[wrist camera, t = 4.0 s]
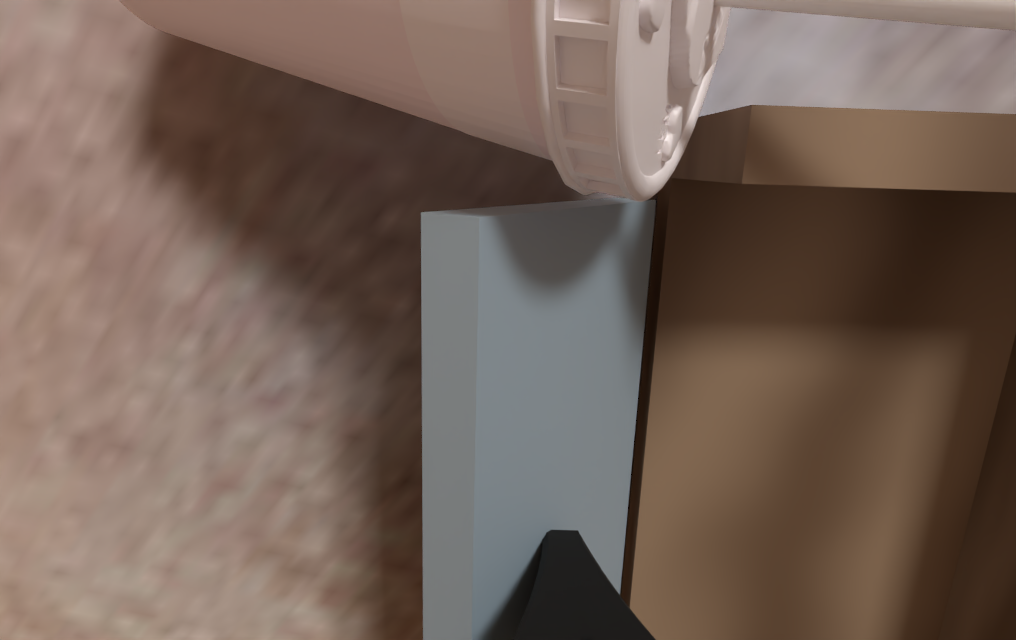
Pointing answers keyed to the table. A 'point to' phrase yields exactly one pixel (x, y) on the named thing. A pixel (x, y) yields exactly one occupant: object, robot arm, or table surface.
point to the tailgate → (526, 397)
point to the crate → (830, 381)
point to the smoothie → (526, 65)
